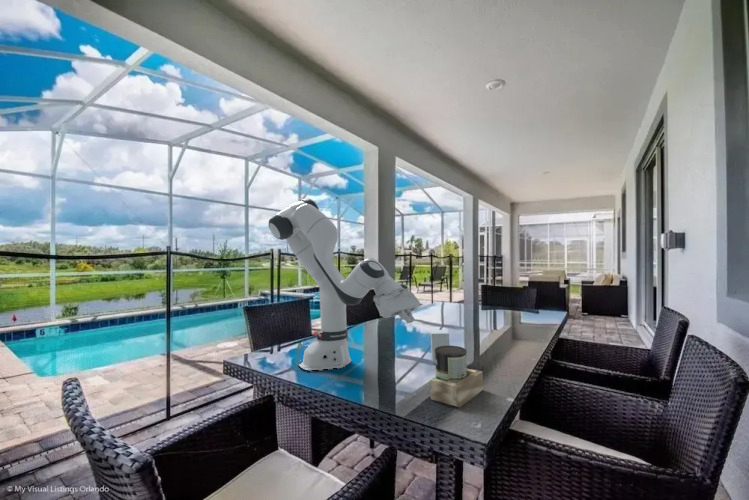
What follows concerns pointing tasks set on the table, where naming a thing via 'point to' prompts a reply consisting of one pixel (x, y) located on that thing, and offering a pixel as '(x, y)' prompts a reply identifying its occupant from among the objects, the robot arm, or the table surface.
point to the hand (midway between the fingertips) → (411, 321)
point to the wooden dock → (457, 389)
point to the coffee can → (450, 363)
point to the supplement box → (438, 340)
